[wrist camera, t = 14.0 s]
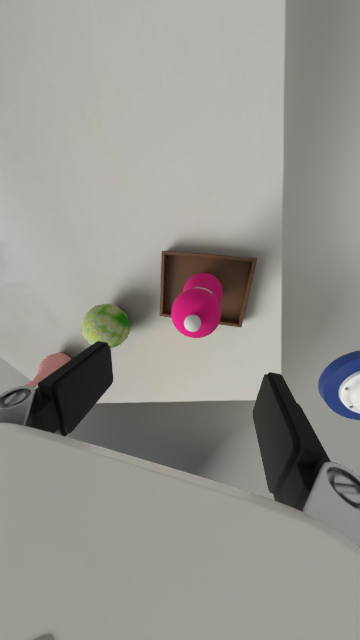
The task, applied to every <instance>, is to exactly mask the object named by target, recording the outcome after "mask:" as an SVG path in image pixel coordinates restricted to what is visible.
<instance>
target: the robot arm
mask: <svg viewBox="0 0 360 640" xmlns="http://www.w3.org/2000/svg"><path fill="white" fill-rule="evenodd" d="M112 382H113V373H112V361H111V350H110V346H109V345H108V343H107V342H101V341H97V342H95V343H94V344H93V345H91V346H90V347H88V348H87V349H85V350H84V351H83V352H81V353H80V354H78V355H77V356H76V357H74V358H73V359H71V360H70V361H68V362H67V363H66V364H64V365H63V366H61V367H60V368H59V369H57V370H56V371H54V372H53V373H51V374H50V375H49V376H47V377H46V378H44V379H43V380H41V381H40V382H39V383H38V386H39V387H38V388H37V389H34V387H32V386H19V387H16V388H13V389H11V390H8V391H6V392H4V393H3V394H1V395H0V640H360V477H359V476H358V475H357V474H355V473H354V472H353V471H351V470H349V469H348V468H346V467H345V466H342V465H340V464H338V463H335V462H331V461H330V459H329V458H328V456H327V454H326V452H325V450H324V448H323V447H322V445H321V443H320V441H319V439H318V438H317V436H316V434H315V432H314V430H313V428H312V426H311V425H310V423H309V421H308V419H307V417H306V415H305V414H304V412H303V410H302V408H301V407H300V405H299V404H297V403H296V401H295V399H294V397H293V395H292V393H291V392H290V390H289V388H288V386H287V384H286V382H285V380H284V378H283V377H282V375H281V374H276V373H268V375H266V374H265V375H264V377H263V381H262V384H261V387H260V390H259V393H258V396H257V400H256V403H255V406H254V409H253V419H254V424H255V429H256V433H257V438H258V443H259V447H260V451H261V457H262V461H263V466H264V471H265V475H266V480H267V485H268V488H269V491H270V493H273V494H274V499H275V501H274V500H272V499H269V498H266V497H263V496H259V495H256V494H253V493H250V492H247V491H244V490H241V489H238V488H235V487H232V486H229V485H225V484H222V483H219V482H216V481H212V480H209V479H206V478H202V477H199V476H196V475H193V474H189V473H186V472H182V471H179V470H176V469H173V468H169V467H166V466H163V465H160V464H156V463H152V462H149V461H146V460H142V459H140V458H136V457H132V456H129V455H126V454H123V453H119V452H116V451H113V450H109V449H106V448H103V447H99V446H96V445H92V444H88V443H85V442H82V441H78V440H75V439H71V438H68V437H65V436H66V435H67V434H68V433H71V432H72V431H73V430H74V429H75V427H76V426H77V425H78V424H79V423H80V421H81V420H82V419H83V418H84V417H85V415H86V414H87V413H88V412H89V411H90V409H91V408H92V407H93V406H94V405H95V403H96V402H97V401H98V400H99V399H100V397H101V396H102V395H103V394H104V393H105V391H106V390H107V389H108V388H109V387H110V385H111V384H112ZM339 398H340V400H341V402H342V403H343V404H344V405H345V406H346V407H347V408H348V409H350V410H351V411H353V412H356V413H359V414H360V371H358V372H355V373H353V374H352V375H350V376H349V377H347V378H346V379H345V380H344V381H343V382H342V384H341V385H340V388H339Z"/></svg>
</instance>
